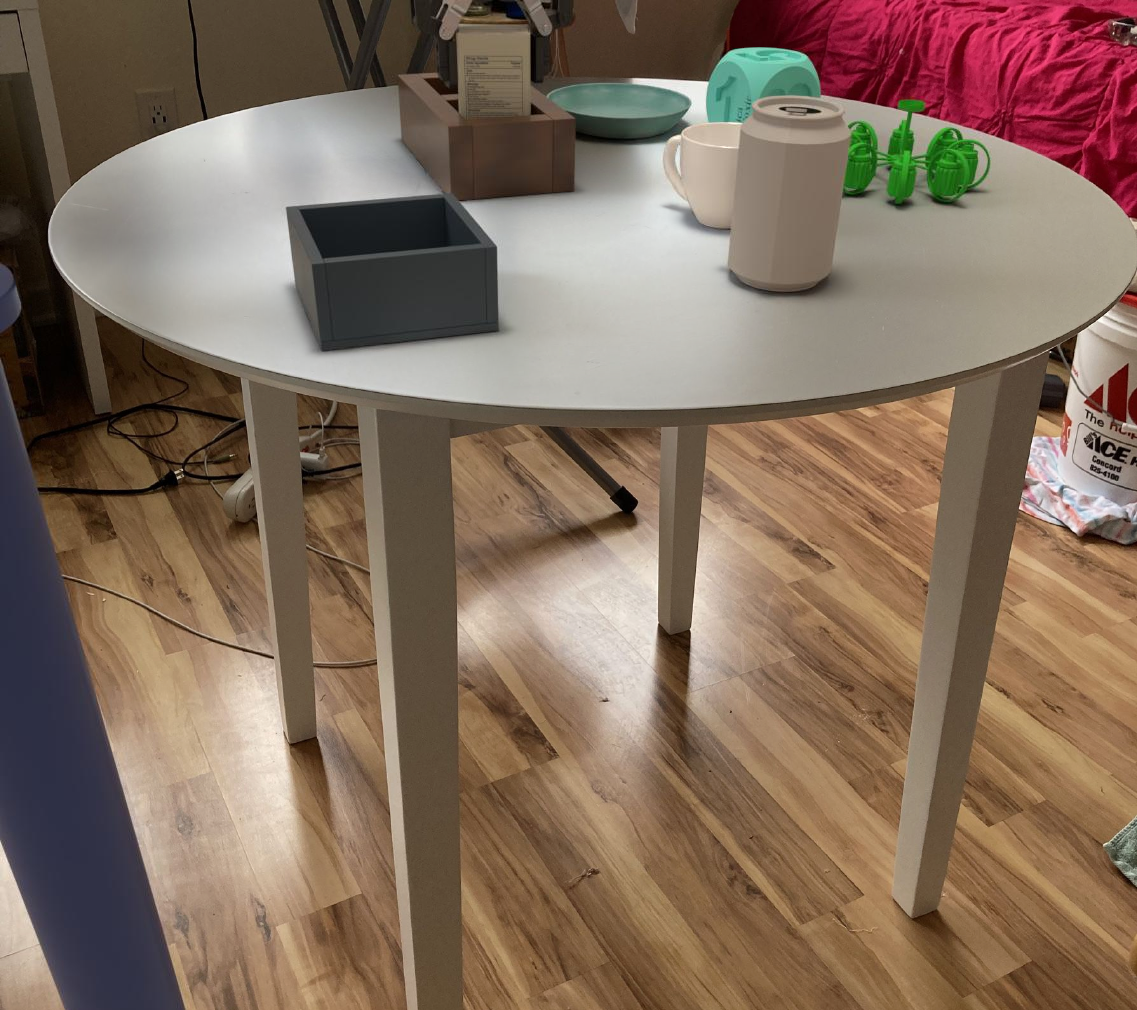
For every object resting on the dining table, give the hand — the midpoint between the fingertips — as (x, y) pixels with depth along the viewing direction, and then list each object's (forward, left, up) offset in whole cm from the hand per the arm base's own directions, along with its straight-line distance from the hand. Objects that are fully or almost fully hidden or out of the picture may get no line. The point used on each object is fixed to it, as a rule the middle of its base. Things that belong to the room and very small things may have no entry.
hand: (493, 83), depth 101 cm
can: (+13, -30, -8) cm, 33 cm away
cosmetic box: (0, 0, -8) cm, 8 cm away
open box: (-15, -28, -8) cm, 32 cm away
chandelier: (+34, -12, -8) cm, 37 cm away
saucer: (+17, +14, -8) cm, 24 cm away
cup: (+14, -16, -8) cm, 22 cm away
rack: (0, +4, -8) cm, 9 cm away
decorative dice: (+28, +4, -8) cm, 30 cm away
